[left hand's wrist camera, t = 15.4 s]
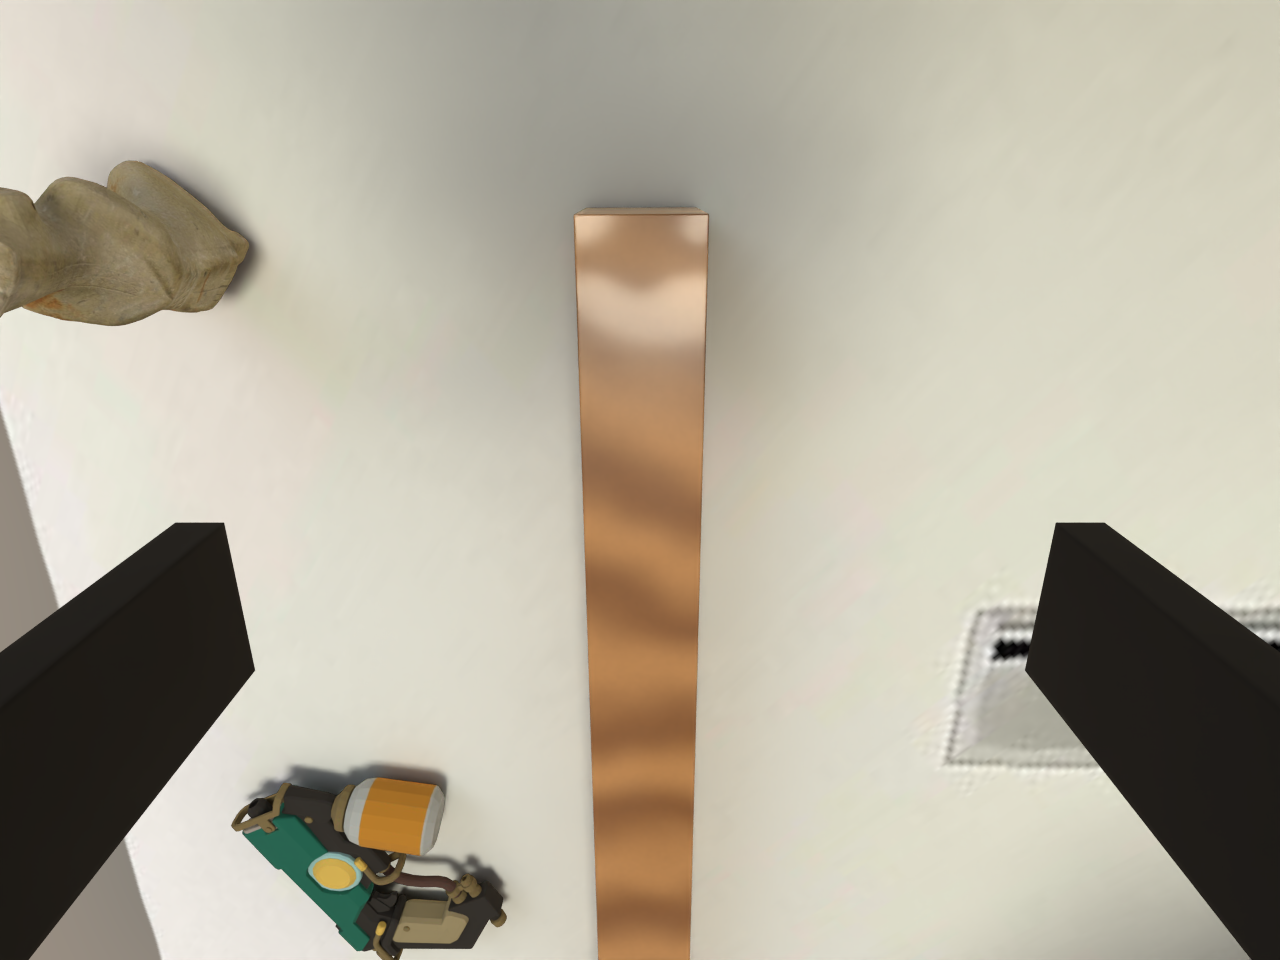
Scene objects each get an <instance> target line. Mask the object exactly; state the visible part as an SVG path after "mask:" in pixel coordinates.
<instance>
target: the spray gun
mask: <svg viewBox="0 0 1280 960" xmlns="http://www.w3.org/2000/svg"><path fill="white" fill-rule="evenodd" d="M444 803H445V796H444V794H443V793H442V791H441V789H440V788H439V786H437V785H432V784H424V783H417V782H409V781H402V780H394V779H387V778H379V777H376V778H369V779H366V780H364V781H363V782H362V783H360V784H359V785H358V786H355V785H347V786H346V787H345V788H344V789H343V790H342V792H341V793H340V794H339V795H337V796H336V795H333V794H331V793H327V792H323V791H318V790H313V789H308V788H303V787H299V786H294V785H291V784H290V783H283V784H282V785H281V787H280V789H279V791H278V792H277V793H276V794H273V795H271V796H268V797H266V798H257V799H255V800H254V801H252V802H251V803H250V804H248V805H247V806H245V807H244V808H243V809H241V810H240V811H239V813H238V814H237V815H236V817H235V819H234V821H233V822H232V825H231V826H232V828H233V829H234V830H235V831H241V830H243V832H242V834H243V835H244V836H245V837H246V838H247V839H248V840H249V841H250V842H251V843H252V844H253V845H254V847H255V848H256V849H257V850H258V851H259V852H260V853H261V854H262V855H263V856H264V857H265V858H266V859H267V860H268V861H269V862H270V863H271V864H272V865H273V866H274V867H275V868H276V869H278V870H279V869H282V870H283V871H284V872H285V873H286V874H287V875H288V876H289V877H290V878H291V879H292V880H293V881H294V882H295V883H296V884H297V885H298V886H299V887H300V888H301V889H302V890H303V891H304V892H305V893H306V894H307V895H308V896H309V897H310V898H311V899H312V900H313V901H314V902H315V903H316V904H317V905H318V906H319V907H320V908H321V909H322V910H323V911H324V912H325V913H326V914H327V915H328V916H329V917H330V918H331V919H332V920H333V921H334V922H335V923H336V927H337V928H338V929H339V934H340V935H341V936H342V937H343V938H344V939H345V940H346V941H347V942H348V943H349V944H350V945H351V946H352V947H353V948H354V949H355V950H356V951H368V950H373V951H376V953H377V955H378V956H379V957H380V958H381V959H382V960H399V959H400V956H401V954H402V951H403V949H471V948H473V946H474V944H475V943H476V941H477V939H478V937H479V936H480V934H481V932H482V931H483V929H484V927H485V925H486V924H487V922H488V920H489V919H490V921H491V923H492V924H493V925H495V926H496V927H500V926H502V925H503V924H504V923H505V921H506V919H507V916H506V914H505V912H504V911H503V909H501V907H502V902H503V898H502V896H501V895H500V894H499V893H498V892H497V891H496V889H495V888H494V887H493V886H492V885H491V883H490V882H489V881H488V880H487V881H485V882H482V883H479V884H477V881H476V879H475V878H474V877H473V876H472V875H469V874H465V875H464V876H462V879H461V883H459V882H458V881H456V880H454V881H452V880H450V879H449V878H447V877H443V876H419V875H411V874H407V873H403V872H401V871H402V869H403V866H404V864H405V859H406V854H412V855H418V856H423V855H425V854H426V853H427V852H428V851H429V850H431V849H432V848H433V846H434V845H435V842H436V840H437V836H438V833H439V829H440V825H441V820H442V815H443V810H444ZM247 813H248V815H249V816H250V817H251V818H250V819H249V820H247V821H245V822H242V823H241V821H242V819H243V818H244V817H245V815H246V814H247ZM384 850H386V851H393V852H394V853H392V854H390V855H388V854H387V853H386V852H385V851H384ZM398 858H399V859H398ZM396 859H398V863H397V865H396V868H394V867H392V866H391V865H390V863H391V862H392V861H394V860H396ZM378 872H379V873H383V874H384V875H385V876H386V877H379V876H377V875H376V873H378ZM393 881H395V882H397V883H399V884H403V885H407V886H415V887H440V888H443V889H445V892H446V894H447V895H448V896H449V898H448V901H437V900H422V899H410V900H408V901H406V899H407V898H406V896H405V895H404V894H403V895H400V896H399V898H398V901H397V903H396V905H395V906H393V905H394V904H395V902H396V900H397V891H393V892H392V893H391V894H382V893H379V892H377V891H374V892H373V894H372V890H373V887H374V884H373V883H375V884H377V885H386V884H389V883H391V882H393ZM392 956H395V957H394V958H393V957H392Z"/></svg>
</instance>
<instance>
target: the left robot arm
mask: <svg viewBox="0 0 1280 960" xmlns="http://www.w3.org/2000/svg"><path fill="white" fill-rule="evenodd" d="M254 671H255V668H254V663H253V658H252V654H251V649H250V644H249V639H248V635H247V630H246V625H245V620H244V615H243V611H242V606H241V601H240V596H239V592H238V587H237V582H236V577H235V573H234V568H233V563H232V558H231V553H230V549H229V544H228V539H227V534H226V530H225V525H224V523H174V524H173V525H172V526H170V527H169V528H168V529H166V530H165V531H164V532H162V533H161V534H160V535H158V536H157V537H156V538H154V539H153V540H151V541H150V542H149V543H147V544H146V545H145V546H143V547H142V548H141V549H139V550H138V551H137V552H135V553H134V554H133V555H131V556H130V557H129V558H127V559H126V560H124V561H123V562H122V563H120V564H119V565H118V566H116V567H115V568H114V569H112V570H111V571H110V572H108V573H107V574H106V575H104V576H103V577H102V578H100V579H99V580H97V581H96V582H95V583H93V584H92V585H91V586H89V587H88V588H87V589H85V590H84V591H83V592H81V593H80V594H79V595H77V596H76V597H75V598H73V599H72V600H70V601H69V602H68V603H66V604H65V605H64V606H62V607H61V608H60V609H58V610H57V611H56V612H54V613H53V614H52V615H50V616H49V617H48V618H46V619H45V620H44V621H42V622H41V623H39V624H38V625H37V626H35V627H34V628H33V629H31V630H30V631H29V632H27V633H26V634H25V635H23V636H22V637H21V638H19V639H18V640H17V641H15V642H14V643H12V644H11V645H10V646H8V647H7V648H6V649H4V650H3V651H2V652H0V960H29V959H30V957H31V956H32V955H33V953H34V952H35V951H36V950H37V948H38V947H39V946H40V944H41V943H42V942H43V941H44V939H45V938H46V937H47V935H48V934H49V933H50V932H51V930H52V929H53V928H54V927H55V925H56V924H57V923H58V921H59V920H60V919H61V918H62V916H63V915H64V914H65V912H66V911H67V910H68V909H69V907H70V906H71V905H72V904H73V902H74V901H75V900H76V898H77V897H78V896H79V895H80V893H81V892H82V891H83V889H84V888H85V887H86V886H87V884H88V883H89V882H90V881H91V879H92V878H93V877H94V875H95V874H96V873H97V872H98V870H99V869H100V868H101V866H102V865H103V864H104V863H105V861H106V860H107V859H108V858H109V856H110V855H111V854H112V852H113V851H114V850H115V849H116V847H117V846H118V845H119V844H120V842H121V841H122V840H123V838H124V837H125V836H126V835H127V833H128V832H129V831H130V830H131V828H132V827H133V826H134V824H135V823H136V822H137V821H138V819H139V818H140V817H141V815H142V814H143V813H144V812H145V810H146V809H147V808H148V807H149V805H150V804H151V803H152V801H153V800H154V799H155V798H156V796H157V795H158V794H159V792H160V791H161V790H162V789H163V787H164V786H165V785H166V784H167V782H168V781H169V780H170V778H171V777H172V776H173V775H174V773H175V772H176V771H177V769H178V768H179V767H180V766H181V764H182V763H183V762H184V761H185V759H186V758H187V757H188V755H189V754H190V753H191V752H192V750H193V749H194V748H195V746H196V745H197V744H198V743H199V741H200V740H201V739H202V738H203V736H204V735H205V734H206V732H207V731H208V730H209V729H210V727H211V726H212V725H213V723H214V722H215V721H216V720H217V718H218V717H219V716H220V715H221V713H222V712H223V711H224V709H225V708H226V707H227V706H228V704H229V703H230V702H231V700H232V699H233V698H234V697H235V695H236V694H237V693H238V692H239V690H240V689H241V688H242V686H243V685H244V684H245V683H246V681H247V680H248V679H249V677H250V676H251V675H252V674H253V672H254ZM1025 671H1026V672H1027V674H1028V675H1029V676H1030V677H1031V679H1032V680H1033V681H1034V683H1035V684H1036V685H1037V686H1038V688H1039V689H1040V690H1041V692H1042V693H1043V694H1044V695H1045V697H1046V698H1047V699H1048V700H1049V702H1050V703H1051V704H1052V706H1053V707H1054V708H1055V709H1056V711H1057V712H1058V713H1059V715H1060V716H1061V717H1062V718H1063V720H1064V721H1065V722H1066V723H1067V725H1068V726H1069V727H1070V729H1071V730H1072V731H1073V732H1074V734H1075V735H1076V736H1077V738H1078V739H1079V740H1080V741H1081V743H1082V744H1083V745H1084V746H1085V748H1086V749H1087V750H1088V752H1089V753H1090V754H1091V755H1092V757H1093V758H1094V759H1095V761H1096V762H1097V763H1098V764H1099V766H1100V767H1101V768H1102V769H1103V771H1104V772H1105V773H1106V775H1107V776H1108V777H1109V778H1110V780H1111V781H1112V782H1113V784H1114V785H1115V786H1116V787H1117V789H1118V790H1119V791H1120V792H1121V794H1122V795H1123V796H1124V798H1125V799H1126V800H1127V801H1128V803H1129V804H1130V805H1131V807H1132V808H1133V809H1134V810H1135V812H1136V813H1137V814H1138V815H1139V817H1140V818H1141V819H1142V821H1143V822H1144V823H1145V824H1146V826H1147V827H1148V828H1149V830H1150V831H1151V832H1152V833H1153V835H1154V836H1155V837H1156V838H1157V840H1158V841H1159V842H1160V844H1161V845H1162V846H1163V847H1164V849H1165V850H1166V851H1167V852H1168V854H1169V855H1170V856H1171V858H1172V859H1173V860H1174V861H1175V863H1176V864H1177V865H1178V867H1179V868H1180V869H1181V870H1182V872H1183V873H1184V874H1185V875H1186V877H1187V878H1188V879H1189V881H1190V882H1191V883H1192V884H1193V886H1194V887H1195V888H1196V890H1197V891H1198V892H1199V893H1200V895H1201V896H1202V897H1203V898H1204V900H1205V901H1206V902H1207V904H1208V905H1209V906H1210V907H1211V909H1212V910H1213V911H1214V913H1215V914H1216V915H1217V916H1218V918H1219V919H1220V920H1221V921H1222V923H1223V924H1224V925H1225V927H1226V928H1227V929H1228V930H1229V932H1230V933H1231V934H1232V936H1233V937H1234V938H1235V939H1236V941H1237V942H1238V943H1239V944H1240V946H1241V947H1242V948H1243V950H1244V951H1245V952H1246V953H1247V955H1248V956H1249V957H1250V959H1251V960H1280V652H1278V651H1277V650H1276V649H1274V648H1273V647H1272V646H1270V645H1269V644H1268V643H1266V642H1265V641H1264V640H1262V639H1261V638H1259V637H1258V636H1257V635H1255V634H1254V633H1253V632H1251V631H1250V630H1249V629H1247V628H1246V627H1245V626H1243V625H1242V624H1241V623H1239V622H1238V621H1237V620H1235V619H1234V618H1232V617H1231V616H1230V615H1228V614H1227V613H1226V612H1224V611H1223V610H1222V609H1220V608H1219V607H1218V606H1216V605H1215V604H1214V603H1212V602H1211V601H1210V600H1208V599H1207V598H1205V597H1204V596H1203V595H1201V594H1200V593H1199V592H1197V591H1196V590H1195V589H1193V588H1192V587H1191V586H1189V585H1188V584H1187V583H1185V582H1184V581H1183V580H1181V579H1180V578H1178V577H1177V576H1176V575H1174V574H1173V573H1172V572H1170V571H1169V570H1168V569H1166V568H1165V567H1164V566H1162V565H1161V564H1160V563H1158V562H1157V561H1156V560H1154V559H1153V558H1151V557H1150V556H1149V555H1147V554H1146V553H1145V552H1143V551H1142V550H1141V549H1139V548H1138V547H1137V546H1135V545H1134V544H1133V543H1131V542H1130V541H1129V540H1127V539H1126V538H1124V537H1123V536H1122V535H1120V534H1119V533H1118V532H1116V531H1115V530H1114V529H1112V528H1111V527H1110V526H1108V525H1107V524H1106V523H1056V525H1055V530H1054V534H1053V539H1052V544H1051V549H1050V553H1049V558H1048V563H1047V568H1046V573H1045V577H1044V582H1043V587H1042V592H1041V596H1040V601H1039V606H1038V611H1037V615H1036V620H1035V625H1034V630H1033V635H1032V639H1031V644H1030V649H1029V654H1028V658H1027V663H1026V668H1025Z"/></svg>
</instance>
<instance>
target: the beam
mask: <svg viewBox="0 0 1280 960" xmlns="http://www.w3.org/2000/svg"><path fill="white" fill-rule="evenodd" d="M708 236H709V214H708V213H706V212H704V211H702V210H700V209H698V208H696V207H666V208H585V209H584V210H582V211H580V212H578V213H576V214H574V242H575V272H576V302H577V332H578V362H579V392H580V422H581V452H582V482H583V513H584V543H585V573H586V603H587V633H588V663H589V693H590V723H591V753H592V783H593V813H594V843H595V873H596V903H597V934H598V960H690V929H691V890H692V852H693V813H694V775H695V736H696V698H697V659H698V621H699V582H700V544H701V505H702V467H703V428H704V390H705V351H706V313H707V274H708Z"/></svg>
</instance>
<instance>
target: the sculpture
mask: <svg viewBox="0 0 1280 960" xmlns="http://www.w3.org/2000/svg"><path fill="white" fill-rule="evenodd" d="M248 248H249V243H248V241H247V240H246V239H245V238H244V237H243V236H241V235H240V234H239V233H237V232H235V231H231V230H229V229H228V228H226V227H225V226H224V225H222V224H221V223H220V221H219V220H218V219H217V218H216V217H215V216H214V215H213V214H212V213H211V212H210V211H209V210H208V209H207V208H206V207H205V206H204V205H203V204H202V203H200V202H199V201H198V200H197V199H196V198H194V197H193V196H192V195H191V194H189V193H188V192H187V191H186V190H184V189H183V188H182V187H180V186H179V185H178V184H176V183H175V182H174V181H173V180H171V179H170V178H168V177H167V176H165V175H164V174H162V173H160V172H159V171H157V170H155V169H153V168H152V167H150V166H148V165H146V164H144V163H142V162H138V161H125V162H122V163H121V164H119V165H117V166H116V167H115V168H114V169H113V170H112V171H111V172H110V174H109V177H108V184H107V188H106V187H104V186H101V185H99V184H97V183H94V182H90V181H86V180H83V179H79V178H75V177H64V178H60V179H57V180H55V181H54V182H53V183H52V184H50V185H49V187H48V188H47V189H46V190H45V192H44V193H43V194H42V195H41V196H40V198H39V199H38V200H37V201H36V203H33V201H32V200H31V198H30V197H29V196H28V195H26V194H25V193H23V192H20V191H17V190H12V189H7V188H1V187H0V317H1V316H2V315H3V313H6V312H8V311H11V310H14V309H16V308H19V307H23V308H25V309H27V310H30V311H33V312H36V313H39V314H43V315H46V316H51V317H54V318H58V319H61V320H67V321H77V322H84V323H90V324H98V325H106V326H120V325H126V324H130V323H133V322H136V321H139V320H142V319H144V318H146V317H148V316H150V315H152V314H154V313H156V312H158V311H160V310H172V311H178V312H200V311H206V310H210V309H212V308H213V307H214V306H215V305H216V304H217V303H218V302H219V300H220V299H221V297H222V296H223V294H224V292H225V291H226V289H227V288H228V286H229V284H230V282H231V281H232V279H233V276H234V274H235V272H236V269H237V266H238V265H239V264H240V263H241V262H242V261H243V260H244V258H245V255H246V253H247V250H248Z"/></svg>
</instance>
